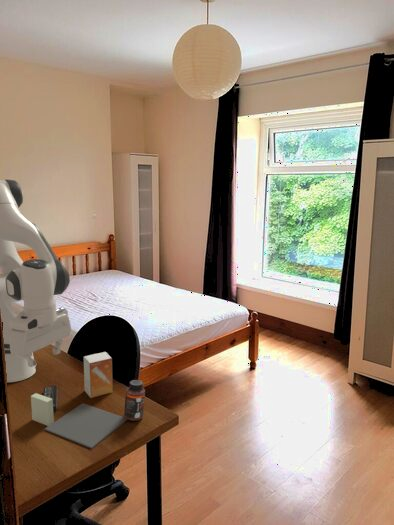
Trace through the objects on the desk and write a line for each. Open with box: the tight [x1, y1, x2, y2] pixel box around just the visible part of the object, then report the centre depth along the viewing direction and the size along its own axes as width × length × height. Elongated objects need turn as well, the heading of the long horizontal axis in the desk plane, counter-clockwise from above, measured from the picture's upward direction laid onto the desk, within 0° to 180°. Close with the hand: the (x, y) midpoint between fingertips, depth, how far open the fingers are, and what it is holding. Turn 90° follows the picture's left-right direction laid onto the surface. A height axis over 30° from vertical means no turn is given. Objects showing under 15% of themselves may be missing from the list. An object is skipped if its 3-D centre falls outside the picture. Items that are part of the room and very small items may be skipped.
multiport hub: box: [42, 384, 58, 414], centre depth 137 cm, size 4×14×2 cm, turn 17°
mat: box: [44, 402, 128, 450], centre depth 125 cm, size 18×16×1 cm
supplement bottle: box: [123, 379, 146, 422], centre depth 128 cm, size 6×6×11 cm
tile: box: [30, 392, 55, 427], centre depth 126 cm, size 7×2×8 cm, turn 63°
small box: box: [83, 351, 113, 399], centre depth 143 cm, size 8×6×13 cm
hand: (44, 359), depth 123 cm, fingers open, 8 cm apart
